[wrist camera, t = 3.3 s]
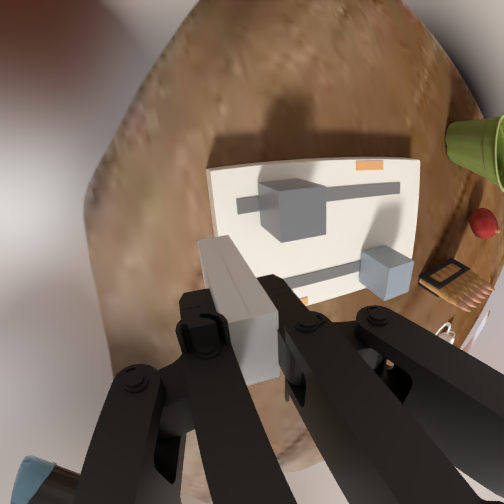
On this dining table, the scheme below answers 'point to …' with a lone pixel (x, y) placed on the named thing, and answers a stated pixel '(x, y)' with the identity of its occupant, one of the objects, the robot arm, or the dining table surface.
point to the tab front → (292, 209)
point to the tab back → (385, 272)
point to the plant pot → (478, 147)
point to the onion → (483, 223)
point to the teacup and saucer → (446, 333)
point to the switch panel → (337, 218)
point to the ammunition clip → (455, 284)
